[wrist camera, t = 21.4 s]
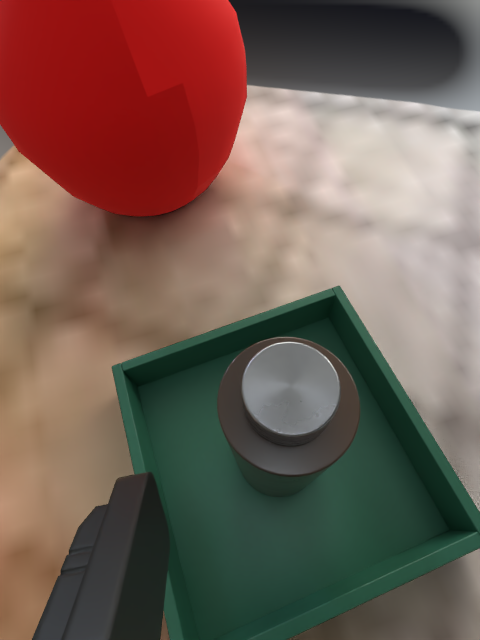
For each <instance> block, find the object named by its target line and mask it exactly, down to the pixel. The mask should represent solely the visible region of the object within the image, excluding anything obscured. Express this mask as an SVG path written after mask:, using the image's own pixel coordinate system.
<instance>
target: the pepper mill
mask: <svg viewBox="0 0 480 640" xmlns="http://www.w3.org/2000/svg"><path fill="white" fill-rule="evenodd" d="M217 411H218V418H219V422H220V425H221V428H222V431H223V433H224V435H225V438H226V440H227V442H228V444H229V446H230V449H231V451H232V453H233V455H234V457H235V460H236V462H237V464H238V466H239V468H240V471H241V473H242V475H243V476H244V478H245V479H246V481H247V482H248V483H249V484H250V485H251V486H252V487H253V488H254V489H256V490H257V491H259V492H261V493H263V494H265V495H268V496H272V497H286V496H290V495H293V494H295V493H297V492H299V491H300V490H302V489H303V488H304V487H306V486H307V485H308V484H309V483H311V482H312V481H313V480H314V479H316V478H317V477H318V476H319V475H321V474H322V473H323V472H324V471H325V470H327V469H328V468H329V467H330V466H332V465H333V464H334V463H335V462H337V461H338V460H339V459H340V458H341V457H342V456H343V455H344V454H345V452H346V451H347V450H348V448H349V447H350V445H351V443H352V442H353V440H354V438H355V435H356V433H357V430H358V426H359V421H360V400H359V395H358V391H357V388H356V385H355V382H354V380H353V378H352V376H351V374H350V373H349V371H348V370H347V368H346V367H345V366H344V364H343V363H342V362H341V361H340V360H339V359H338V358H337V357H336V356H335V355H334V354H332V353H331V352H330V351H329V350H327V349H326V348H324V347H322V346H320V345H318V344H316V343H314V342H312V341H309V340H305V339H301V338H296V337H275V338H269V339H266V340H263V341H260V342H258V343H255V344H253V345H251V346H250V347H248V348H246V349H245V350H244V351H242V352H241V353H240V354H239V355H238V356H237V357H236V358H235V359H234V360H233V361H232V362H231V364H230V365H229V366H228V368H227V370H226V371H225V373H224V375H223V377H222V380H221V382H220V386H219V390H218V397H217Z"/></svg>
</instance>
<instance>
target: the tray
mask: <svg viewBox="0 0 480 640" xmlns="http://www.w3.org/2000/svg"><path fill="white" fill-rule="evenodd" d="M275 337H296V338H301V339H305V340H309V341H312V342H314V343H316V344H318V345H320V346H322V347H324V348H326V349H327V350H329V351H330V352H331V353H332V354H334V355H335V356H336V357H337V358H338V359H339V360H340V361H341V362H342V363H343V364H344V366H345V367H346V368H347V370H348V371H349V373H350V374H351V376H352V378H353V380H354V382H355V385H356V388H357V391H358V395H359V400H360V421H359V426H358V430H357V433H356V435H355V438H354V440H353V442H352V443H351V445H350V447H349V448H348V450H347V451H346V452H345V454H344V455H343V456H342V457H341V458H340V459H339V460H338V461H337V462H335V463H334V464H333V465H332V466H330V467H329V468H328V469H327V470H325V471H324V472H323V473H322V474H321V475H319V476H318V477H317V478H316V479H314V480H313V481H312V482H311V483H309V484H308V485H307V486H306V487H304V488H303V489H302V490H300V491H299V492H297V493H295V494H293V495H290V496H286V497H272V496H268V495H265V494H263V493H261V492H259V491H257V490H256V489H254V488H253V487H252V486H251V485H250V484H249V483H248V482H247V481H246V479H245V478H244V476H243V475H242V473H241V471H240V468H239V466H238V464H237V462H236V460H235V457H234V455H233V453H232V451H231V449H230V446H229V444H228V442H227V440H226V438H225V435H224V433H223V431H222V428H221V425H220V422H219V418H218V411H217V397H218V390H219V386H220V382H221V380H222V377H223V375H224V373H225V371H226V370H227V368H228V366H229V365H230V364H231V362H232V361H233V360H234V359H235V358H236V357H237V356H238V355H239V354H240V353H241V352H242V351H244V350H245V349H246V348H248V347H250V346H251V345H253V344H255V343H258V342H260V341H263V340H266V339H269V338H275ZM112 371H113V376H114V380H115V385H116V390H117V394H118V399H119V404H120V409H121V413H122V418H123V423H124V427H125V432H126V437H127V441H128V446H129V451H130V455H131V460H132V465H133V469H134V474H140V473H145V472H152V473H153V475H154V477H155V481H156V484H157V488H158V491H159V495H160V498H161V502H162V506H163V509H164V513H165V516H166V520H167V524H168V529H169V537H170V555H169V564H168V573H167V582H166V591H165V600H164V609H163V610H164V614H165V619H166V624H167V628H168V633H169V638H170V640H287V639H290V638H292V637H294V636H296V635H298V634H300V633H302V632H304V631H306V630H308V629H311V628H313V627H315V626H317V625H319V624H321V623H323V622H325V621H327V620H330V619H332V618H334V617H336V616H338V615H340V614H342V613H344V612H346V611H348V610H351V609H353V608H355V607H357V606H359V605H361V604H363V603H365V602H367V601H369V600H372V599H374V598H376V597H378V596H380V595H382V594H384V593H386V592H388V591H390V590H393V589H395V588H397V587H399V586H401V585H403V584H405V583H407V582H409V581H412V580H414V579H416V578H418V577H420V576H422V575H424V574H426V573H428V572H430V571H433V570H435V569H437V568H439V567H441V566H443V565H445V564H447V563H449V562H451V561H454V560H456V559H458V558H460V557H462V556H464V555H466V554H468V553H470V552H472V551H475V550H477V549H479V548H480V512H479V510H478V509H477V507H476V506H475V504H474V502H473V501H472V499H471V497H470V496H469V494H468V493H467V491H466V489H465V488H464V486H463V485H462V483H461V481H460V480H459V478H458V476H457V475H456V473H455V472H454V470H453V468H452V467H451V465H450V463H449V462H448V460H447V459H446V457H445V455H444V454H443V452H442V451H441V449H440V447H439V446H438V444H437V442H436V441H435V439H434V438H433V436H432V434H431V433H430V431H429V429H428V428H427V426H426V425H425V423H424V421H423V420H422V418H421V417H420V415H419V413H418V412H417V410H416V408H415V407H414V405H413V404H412V402H411V400H410V399H409V397H408V395H407V394H406V392H405V391H404V389H403V387H402V386H401V384H400V382H399V381H398V379H397V378H396V376H395V374H394V373H393V371H392V370H391V368H390V366H389V365H388V363H387V361H386V360H385V358H384V357H383V355H382V353H381V352H380V350H379V348H378V347H377V345H376V344H375V342H374V340H373V339H372V337H371V336H370V334H369V332H368V331H367V329H366V327H365V326H364V324H363V323H362V321H361V319H360V318H359V316H358V314H357V313H356V311H355V310H354V308H353V306H352V305H351V303H350V301H349V300H348V298H347V297H346V295H345V293H344V292H343V290H342V289H341V287H340V286H336V287H334V288H332V289H328V290H325V291H322V292H319V293H317V294H314V295H311V296H308V297H305V298H303V299H300V300H297V301H294V302H291V303H288V304H286V305H283V306H280V307H277V308H274V309H272V310H269V311H266V312H263V313H260V314H257V315H255V316H252V317H249V318H246V319H243V320H241V321H238V322H235V323H232V324H229V325H226V326H224V327H221V328H218V329H215V330H212V331H210V332H207V333H204V334H201V335H198V336H195V337H193V338H190V339H187V340H184V341H181V342H179V343H176V344H173V345H170V346H167V347H164V348H162V349H159V350H156V351H153V352H150V353H148V354H145V355H142V356H139V357H136V358H133V359H131V360H128V361H125V362H122V364H121V363H119V364H117V365H114V366H112Z"/></svg>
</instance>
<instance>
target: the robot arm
mask: <svg viewBox="0 0 480 640" xmlns="http://www.w3.org/2000/svg"><path fill="white" fill-rule="evenodd" d="M169 555H170V537H169V529H168V524H167V520H166V516H165V513H164V509H163V506H162V502H161V498H160V495H159V491H158V488H157V484H156V481H155V477H154V475H153V473H152V472H145V473H140V474H135V475H130V476H125V477H120V478H118V479H117V480H116V483H115V485H114V488H113V491H112V494H111V497H110V500H109V503H108V504H106V505H101V506H96V507H95V508H94V509H93V510H92V512H91V513H90V514H89V515H88V517H87V518H86V519H85V520H84V521H83V523H82V524H81V525H80V526H79V527H78V530H77V532H76V535H75V537H74V539H73V542H72V544H71V547H70V549H69V555H67V556H66V559H65V561H64V563H63V566H62V568H61V575H60V576H58V578H57V580H56V583H55V585H54V588H53V590H52V592H51V595H50V597H49V600H48V602H47V604H46V607H45V609H44V612H43V614H42V616H41V619H40V621H39V624H38V626H37V629H36V631H35V633H34V636H33V638H32V640H160V636H161V627H162V618H163V609H164V600H165V591H166V582H167V573H168V564H169Z"/></svg>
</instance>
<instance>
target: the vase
mask: <svg viewBox="0 0 480 640" xmlns="http://www.w3.org/2000/svg"><path fill="white" fill-rule="evenodd" d="M246 98H247V76H246V58H245V48H244V44H243V40H242V36H241V32H240V27H239V23H238V19H237V15H236V12H235V10H234V8H233V7H232V6H231V4H230V3H229V1H228V0H0V125H1V126H2V128H3V129H4V131H5V132H6V133H7V135H8V136H9V138H10V139H11V141H12V142H13V143H14V145H15V146H16V148H17V149H18V151H19V152H20V153H21V154H23V155H24V156H25V157H26V158H27V159H29V160H30V161H31V162H32V163H33V164H35V165H36V166H37V167H38V168H39V169H41V170H42V171H43V172H44V173H45V174H47V175H48V176H49V177H50V178H51V179H53V180H54V181H55V182H56V183H57V184H59V185H60V186H61V187H62V188H64V189H65V190H66V191H67V192H69V193H70V194H71V195H72V196H74V197H76V198H78V199H80V200H83V201H85V202H87V203H89V204H92V205H94V206H96V207H98V208H101V209H104V210H106V211H109V212H111V213H114V214H121V215H128V216H155V215H160V214H164V213H168V212H172V211H174V210H176V209H178V208H180V207H182V206H184V205H186V204H188V203H189V202H191V201H192V200H193V199H195V198H196V197H197V196H199V195H200V194H201V193H203V192H204V191H205V190H206V189H207V188H208V187H209V185H210V184H211V183H212V182H213V180H214V179H215V178H216V176H217V175H218V173H219V172H220V170H221V169H222V167H223V165H224V164H225V162H226V161H227V159H228V158H229V155H230V152H231V150H232V147H233V144H234V141H235V138H236V134H237V131H238V127H239V123H240V120H241V116H242V113H243V109H244V105H245V102H246Z"/></svg>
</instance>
